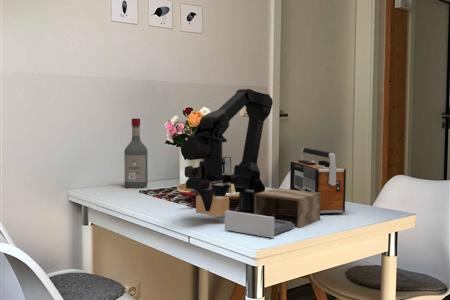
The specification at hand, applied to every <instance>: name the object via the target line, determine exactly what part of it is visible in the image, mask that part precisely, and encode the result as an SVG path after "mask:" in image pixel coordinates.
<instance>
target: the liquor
mask: <svg viewBox="0 0 450 300" xmlns="http://www.w3.org/2000/svg"><path fill="white" fill-rule="evenodd" d="M140 126H141V118H131V128H132V129H131V130H132V131H131V134H132V135H131V141H130V142H129V143H128V144H127V145H126V147H125V149H124V152H123V153H124V187H125V188H126V189H129V188H141V189H145V188H147V186H148V181H149V180H148V149H147V146H145V144H144V143H143V142H142V141H141V134H140V131H141V129H140ZM144 187H145V188H144Z"/></svg>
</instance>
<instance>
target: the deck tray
mask: <svg viewBox="0 0 450 300" xmlns="http://www.w3.org/2000/svg"><path fill="white" fill-rule="evenodd" d="M294 228H295V223H293V221H288V220H281V219H275V216H271V217H269V216H262V215H255V214H251V213H244V212H237V211H234V210H229V211H228V210H226V211H225V215H224V230H226V231H230V232H237V233H240V234H241V233H242V234H248V235H253V236H260V237H266V238H270V239H274V238H275V236H277V235H279V234H281V233H284V232H286V231H288V230H291V229H294Z"/></svg>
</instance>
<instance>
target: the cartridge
mask: <svg viewBox="0 0 450 300" xmlns="http://www.w3.org/2000/svg"><path fill="white" fill-rule="evenodd" d="M226 210H228V211H230V200H229V197H222V196H214V195H213V199H212V203H211V207H210V211H206V210H205V207H204V204H203V201H202V198H201V196H196V201H195V213H196V214H201V215H206V216H207V215H208V216H215V217H225V211H226Z"/></svg>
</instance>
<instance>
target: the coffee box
mask: <svg viewBox="0 0 450 300" xmlns="http://www.w3.org/2000/svg"><path fill="white" fill-rule="evenodd" d="M222 161H225V165H222V173H228V174H232V157H231V156H222ZM227 185H231V187H230V188H229V190H228V191H227V193H231V194H232V184H231V183H230V182H227Z"/></svg>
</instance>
